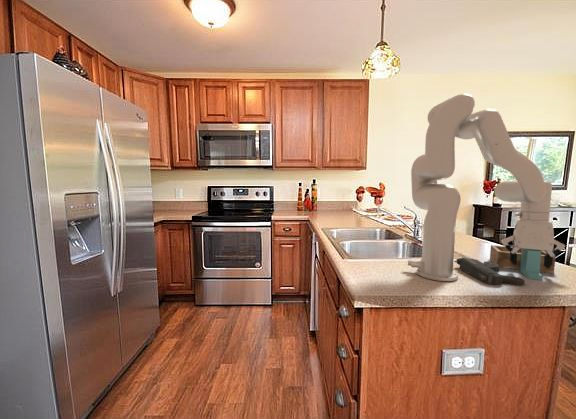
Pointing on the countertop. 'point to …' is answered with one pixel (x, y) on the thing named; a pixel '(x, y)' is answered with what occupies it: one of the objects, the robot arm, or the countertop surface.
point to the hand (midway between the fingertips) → (529, 265)
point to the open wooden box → (502, 258)
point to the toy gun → (487, 272)
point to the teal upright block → (531, 264)
